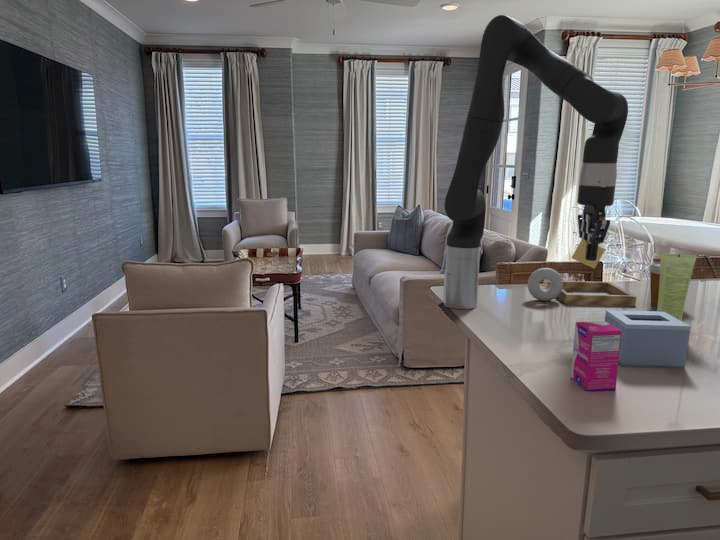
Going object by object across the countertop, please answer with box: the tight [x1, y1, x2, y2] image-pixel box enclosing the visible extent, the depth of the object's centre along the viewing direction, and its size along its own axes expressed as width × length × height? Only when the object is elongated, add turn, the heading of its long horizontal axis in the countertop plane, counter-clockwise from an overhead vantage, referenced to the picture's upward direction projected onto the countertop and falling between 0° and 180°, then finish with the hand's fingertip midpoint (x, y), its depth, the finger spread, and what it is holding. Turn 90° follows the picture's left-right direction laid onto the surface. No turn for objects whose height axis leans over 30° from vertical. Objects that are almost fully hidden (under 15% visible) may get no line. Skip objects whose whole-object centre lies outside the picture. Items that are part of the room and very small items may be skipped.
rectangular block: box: [571, 238, 606, 270], centre depth 119 cm, size 5×2×5 cm, turn 86°
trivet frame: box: [546, 280, 637, 307], centre depth 155 cm, size 19×18×3 cm
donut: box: [527, 267, 564, 302], centre depth 150 cm, size 10×4×10 cm, turn 84°
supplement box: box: [570, 320, 622, 392], centre depth 92 cm, size 6×6×12 cm
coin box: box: [604, 309, 692, 369], centre depth 105 cm, size 12×10×9 cm
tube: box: [656, 252, 698, 322], centre depth 120 cm, size 6×5×20 cm
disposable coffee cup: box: [648, 262, 660, 308], centre depth 145 cm, size 10×10×12 cm
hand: (588, 258), depth 119 cm, fingers closed on rectangular block, 2 cm apart
